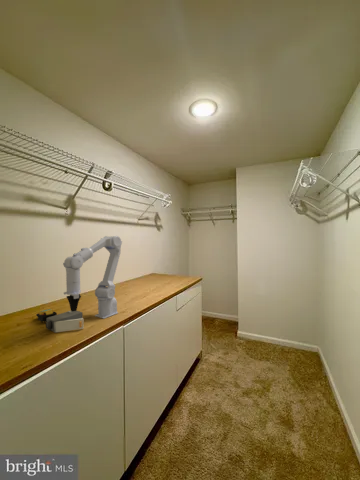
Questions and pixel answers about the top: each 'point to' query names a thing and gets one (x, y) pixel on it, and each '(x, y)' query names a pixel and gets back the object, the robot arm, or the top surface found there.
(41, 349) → the top surface
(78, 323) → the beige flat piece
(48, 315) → the gadget
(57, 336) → the top surface
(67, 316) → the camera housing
